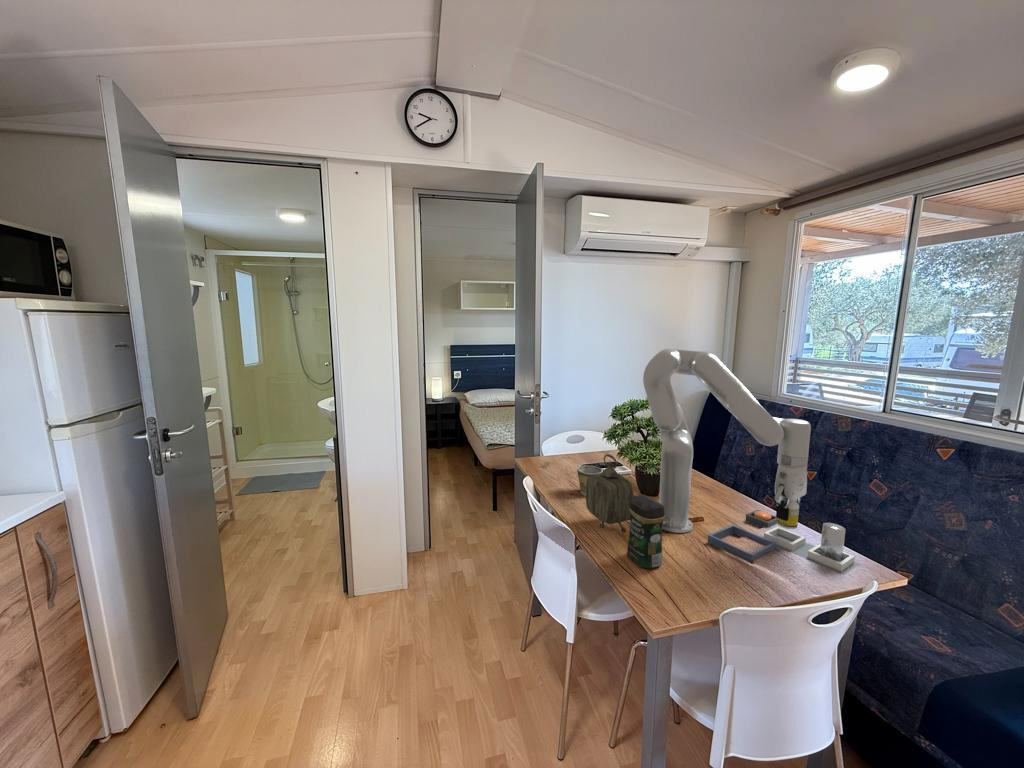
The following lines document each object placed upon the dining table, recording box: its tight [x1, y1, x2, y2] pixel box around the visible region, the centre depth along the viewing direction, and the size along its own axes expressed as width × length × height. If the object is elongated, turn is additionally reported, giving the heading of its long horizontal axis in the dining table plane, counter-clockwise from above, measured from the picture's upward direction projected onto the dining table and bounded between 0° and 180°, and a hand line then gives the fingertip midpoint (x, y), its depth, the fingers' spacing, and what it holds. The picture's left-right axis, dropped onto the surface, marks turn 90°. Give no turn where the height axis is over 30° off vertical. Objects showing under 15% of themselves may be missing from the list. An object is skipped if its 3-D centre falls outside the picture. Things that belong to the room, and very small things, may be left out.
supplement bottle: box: [776, 495, 800, 530], centre depth 122 cm, size 5×5×10 cm
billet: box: [820, 522, 847, 562], centre depth 113 cm, size 5×5×10 cm
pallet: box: [761, 526, 860, 575], centre depth 118 cm, size 10×22×3 cm, turn 31°
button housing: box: [744, 509, 778, 529], centre depth 137 cm, size 7×7×2 cm
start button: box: [754, 510, 772, 522], centre depth 137 cm, size 5×5×2 cm
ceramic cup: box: [576, 465, 605, 497], centre depth 162 cm, size 13×10×10 cm
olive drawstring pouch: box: [585, 454, 634, 534], centre depth 132 cm, size 14×9×25 cm, turn 23°
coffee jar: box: [626, 494, 665, 570], centre depth 113 cm, size 10×8×19 cm
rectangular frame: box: [707, 524, 777, 564], centre depth 122 cm, size 13×13×2 cm
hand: (787, 516), depth 122 cm, fingers closed on supplement bottle, 5 cm apart
